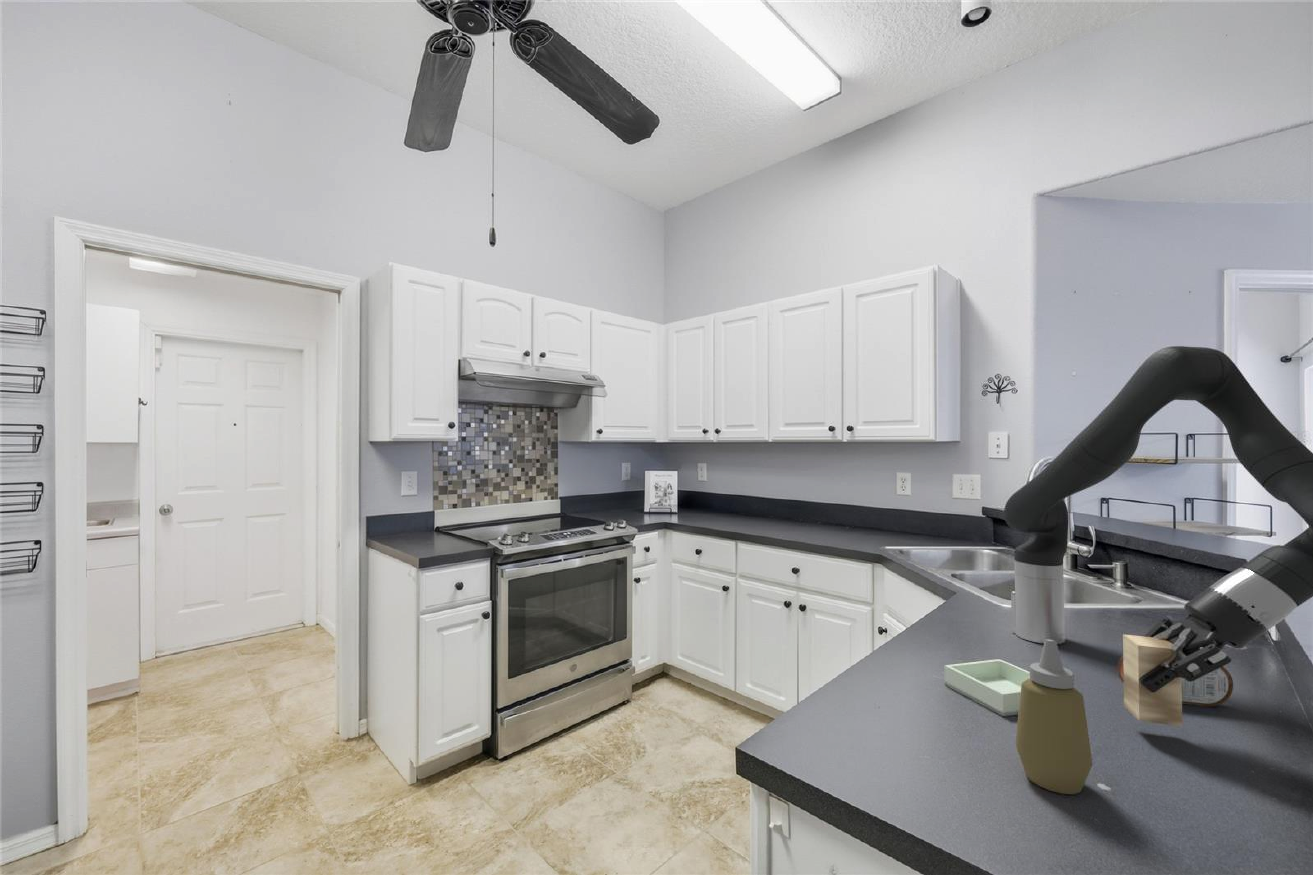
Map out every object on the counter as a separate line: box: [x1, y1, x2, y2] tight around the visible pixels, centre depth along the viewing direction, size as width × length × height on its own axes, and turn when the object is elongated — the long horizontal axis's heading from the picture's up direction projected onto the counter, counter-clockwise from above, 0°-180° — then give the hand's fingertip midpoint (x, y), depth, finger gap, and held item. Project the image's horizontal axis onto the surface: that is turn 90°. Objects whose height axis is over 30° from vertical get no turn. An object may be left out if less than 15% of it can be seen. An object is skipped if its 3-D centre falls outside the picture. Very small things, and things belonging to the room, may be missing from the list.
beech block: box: [1122, 634, 1183, 727], centre depth 82 cm, size 5×5×11 cm
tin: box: [1117, 655, 1234, 707], centre depth 94 cm, size 15×3×8 cm, turn 71°
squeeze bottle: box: [1015, 639, 1094, 795], centre depth 71 cm, size 8×8×18 cm
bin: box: [943, 658, 1030, 717], centre depth 96 cm, size 12×12×4 cm
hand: (1136, 678), depth 83 cm, fingers closed on beech block, 5 cm apart
